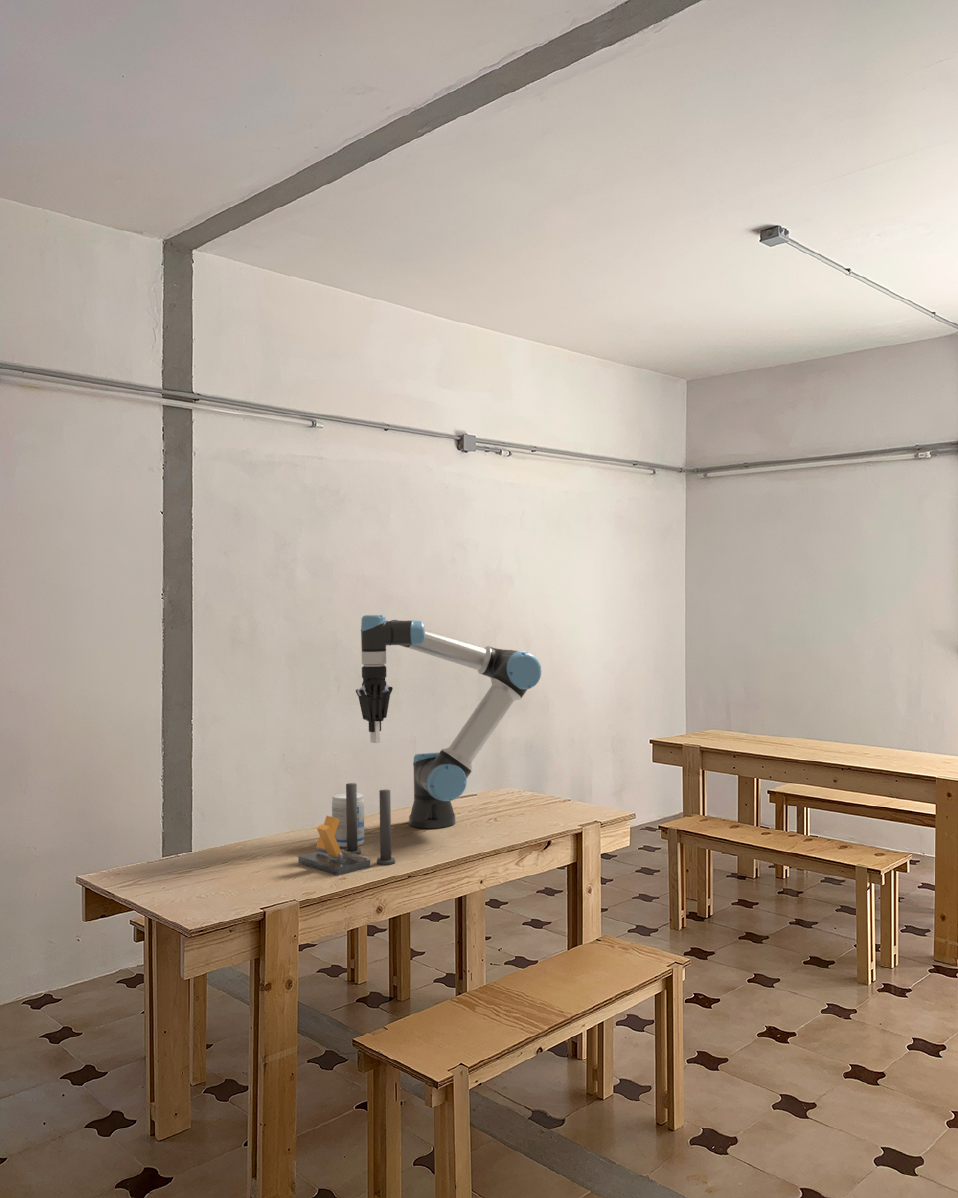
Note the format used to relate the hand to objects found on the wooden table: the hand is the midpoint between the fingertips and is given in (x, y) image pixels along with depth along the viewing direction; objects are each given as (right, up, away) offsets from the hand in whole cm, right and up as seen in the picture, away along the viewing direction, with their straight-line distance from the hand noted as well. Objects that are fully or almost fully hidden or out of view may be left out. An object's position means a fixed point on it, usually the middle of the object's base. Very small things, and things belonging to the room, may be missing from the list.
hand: (375, 742), depth 296 cm
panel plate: (-8, -29, -30) cm, 42 cm away
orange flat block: (-12, -28, -25) cm, 39 cm away
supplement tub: (-7, -30, -7) cm, 31 cm away
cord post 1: (-5, -29, -17) cm, 35 cm away
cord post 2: (+6, -29, -28) cm, 41 cm away
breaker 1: (-7, -27, -31) cm, 42 cm away
